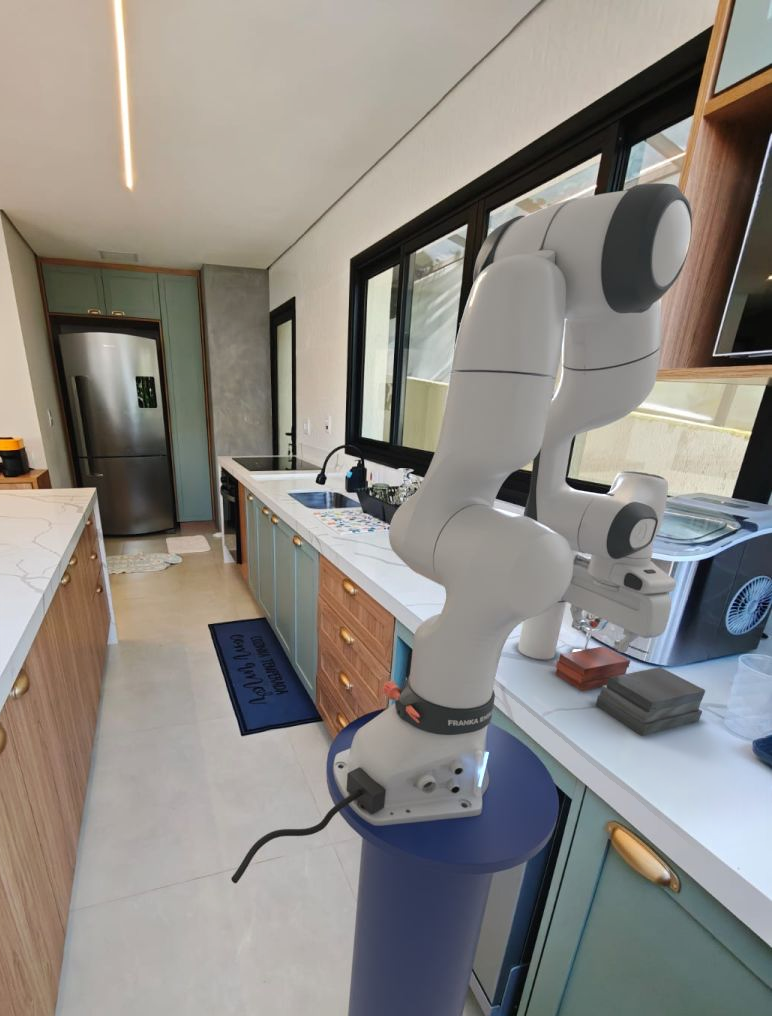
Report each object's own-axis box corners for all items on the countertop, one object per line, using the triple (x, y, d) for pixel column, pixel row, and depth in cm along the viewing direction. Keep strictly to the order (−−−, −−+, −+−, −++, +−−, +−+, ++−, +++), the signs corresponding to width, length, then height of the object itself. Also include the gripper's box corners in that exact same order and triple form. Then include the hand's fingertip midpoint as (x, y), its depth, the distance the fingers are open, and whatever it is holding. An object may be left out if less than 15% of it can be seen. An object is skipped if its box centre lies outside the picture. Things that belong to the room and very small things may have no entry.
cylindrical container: (531, 660, 101) (556, 540, 92) (511, 644, 108) (533, 530, 98) (561, 657, 103) (590, 539, 94) (540, 642, 109) (564, 529, 100)
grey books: (641, 736, 79) (651, 704, 77) (595, 705, 87) (603, 675, 85) (698, 721, 84) (710, 691, 81) (649, 693, 91) (658, 664, 89)
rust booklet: (583, 676, 90) (585, 668, 90) (558, 660, 95) (559, 653, 95) (628, 667, 94) (630, 660, 93) (602, 652, 99) (603, 646, 98)
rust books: (579, 691, 91) (583, 677, 90) (553, 674, 97) (556, 660, 96) (624, 682, 95) (628, 668, 94) (597, 666, 100) (600, 652, 99)
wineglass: (581, 645, 109) (594, 593, 104) (605, 657, 104) (620, 603, 99) (562, 650, 106) (575, 597, 102) (586, 662, 101) (600, 607, 97)
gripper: (558, 551, 95) (543, 618, 100) (658, 588, 78) (633, 667, 83) (583, 550, 97) (567, 615, 102) (686, 585, 80) (660, 662, 85)
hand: (597, 639), depth 92 cm, fingers open, 8 cm apart
